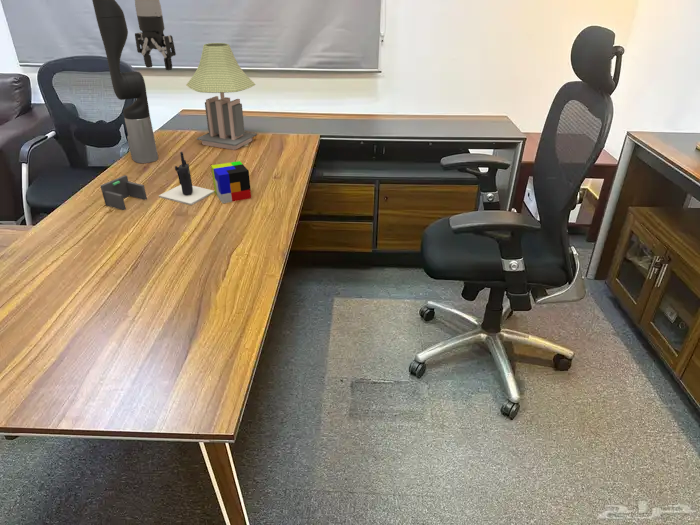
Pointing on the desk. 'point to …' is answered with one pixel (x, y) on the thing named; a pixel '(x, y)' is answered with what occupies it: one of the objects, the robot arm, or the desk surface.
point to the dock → (121, 192)
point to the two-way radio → (184, 176)
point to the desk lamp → (222, 96)
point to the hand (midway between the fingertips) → (159, 68)
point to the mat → (191, 199)
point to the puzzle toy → (231, 182)
